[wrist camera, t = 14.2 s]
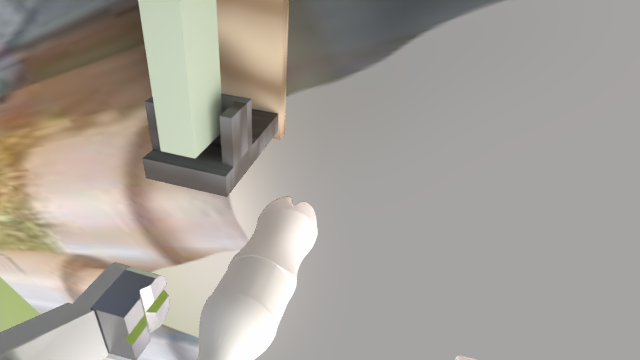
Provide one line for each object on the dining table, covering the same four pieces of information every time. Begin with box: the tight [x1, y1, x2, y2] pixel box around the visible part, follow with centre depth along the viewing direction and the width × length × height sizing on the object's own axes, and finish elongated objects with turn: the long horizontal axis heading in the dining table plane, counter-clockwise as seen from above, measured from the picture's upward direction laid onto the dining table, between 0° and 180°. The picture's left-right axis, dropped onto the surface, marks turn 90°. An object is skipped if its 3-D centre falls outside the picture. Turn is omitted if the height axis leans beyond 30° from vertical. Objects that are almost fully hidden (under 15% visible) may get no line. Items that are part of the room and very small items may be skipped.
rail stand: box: [143, 0, 289, 197], centre depth 35 cm, size 29×8×14 cm, turn 176°
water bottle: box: [197, 196, 318, 360], centre depth 44 cm, size 7×7×25 cm
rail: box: [138, 0, 222, 159], centre depth 31 cm, size 20×3×5 cm, turn 176°
